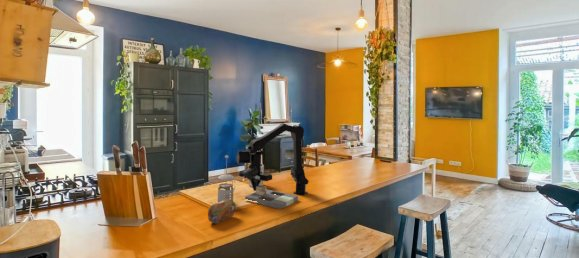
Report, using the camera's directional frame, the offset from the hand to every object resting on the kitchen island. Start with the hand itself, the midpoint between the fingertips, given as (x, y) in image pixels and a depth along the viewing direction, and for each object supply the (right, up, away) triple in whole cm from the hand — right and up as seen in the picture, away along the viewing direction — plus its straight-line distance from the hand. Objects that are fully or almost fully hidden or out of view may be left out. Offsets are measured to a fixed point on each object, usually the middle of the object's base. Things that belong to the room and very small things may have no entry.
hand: (254, 190), depth 181 cm
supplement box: (-2, -1, +24) cm, 24 cm away
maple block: (+4, -1, -2) cm, 4 cm away
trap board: (+10, -4, -5) cm, 12 cm away
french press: (-13, -4, -13) cm, 19 cm away
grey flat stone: (-11, -7, -36) cm, 38 cm away
